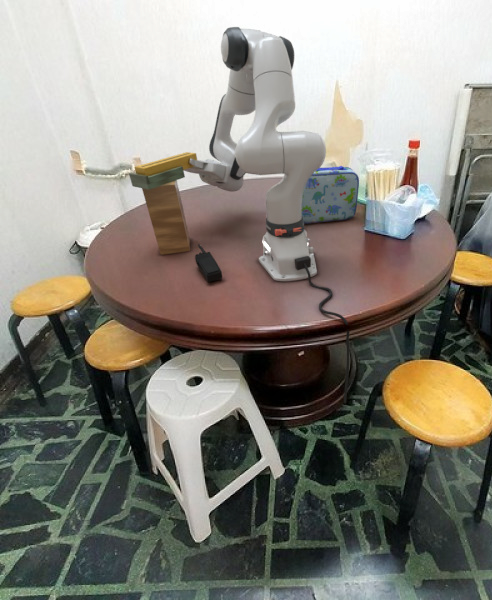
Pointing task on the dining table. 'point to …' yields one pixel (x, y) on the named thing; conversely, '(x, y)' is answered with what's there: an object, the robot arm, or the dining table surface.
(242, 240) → the dining table surface
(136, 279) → the dining table surface
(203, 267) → the walkie-talkie
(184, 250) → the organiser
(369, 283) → the dining table surface
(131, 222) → the dining table surface
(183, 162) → the pencil case
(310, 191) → the lunch box
